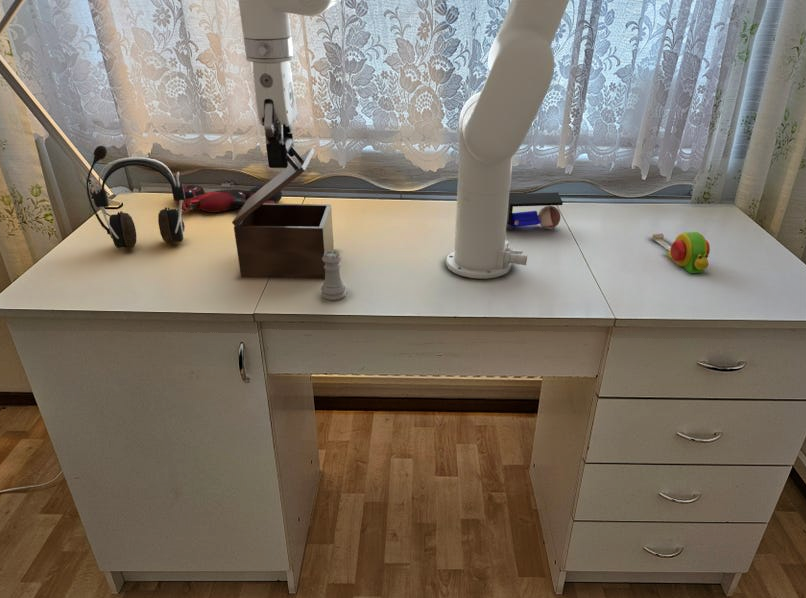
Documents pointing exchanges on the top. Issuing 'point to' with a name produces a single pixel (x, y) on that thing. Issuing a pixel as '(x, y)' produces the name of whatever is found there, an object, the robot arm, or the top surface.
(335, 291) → the rook chess piece
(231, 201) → the toy motorcycle
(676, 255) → the toy measuring tape
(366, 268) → the top surface
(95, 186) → the headset
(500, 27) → the robot arm
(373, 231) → the top surface
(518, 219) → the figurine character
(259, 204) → the box lid
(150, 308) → the top surface
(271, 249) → the toy chest
